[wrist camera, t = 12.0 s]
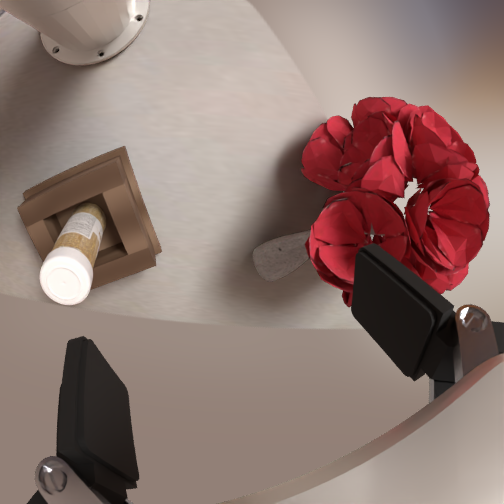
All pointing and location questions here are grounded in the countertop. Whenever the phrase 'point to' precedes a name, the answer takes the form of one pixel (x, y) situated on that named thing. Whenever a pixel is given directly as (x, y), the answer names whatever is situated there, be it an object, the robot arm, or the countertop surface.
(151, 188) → the countertop surface
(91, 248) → the sprinkles bottle
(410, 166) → the bouquet
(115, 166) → the socket block
